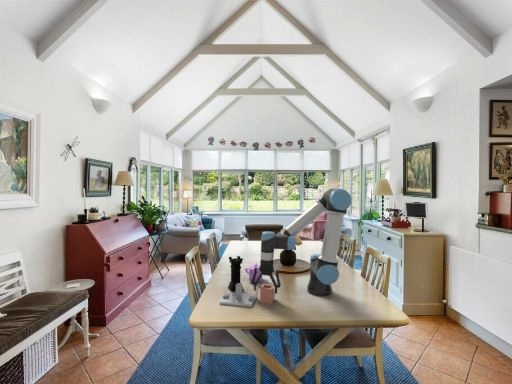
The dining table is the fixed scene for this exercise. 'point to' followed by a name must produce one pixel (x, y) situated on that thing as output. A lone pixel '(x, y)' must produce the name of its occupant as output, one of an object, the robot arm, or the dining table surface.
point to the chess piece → (235, 273)
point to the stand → (238, 298)
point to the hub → (266, 293)
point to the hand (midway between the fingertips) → (265, 297)
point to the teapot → (251, 272)
